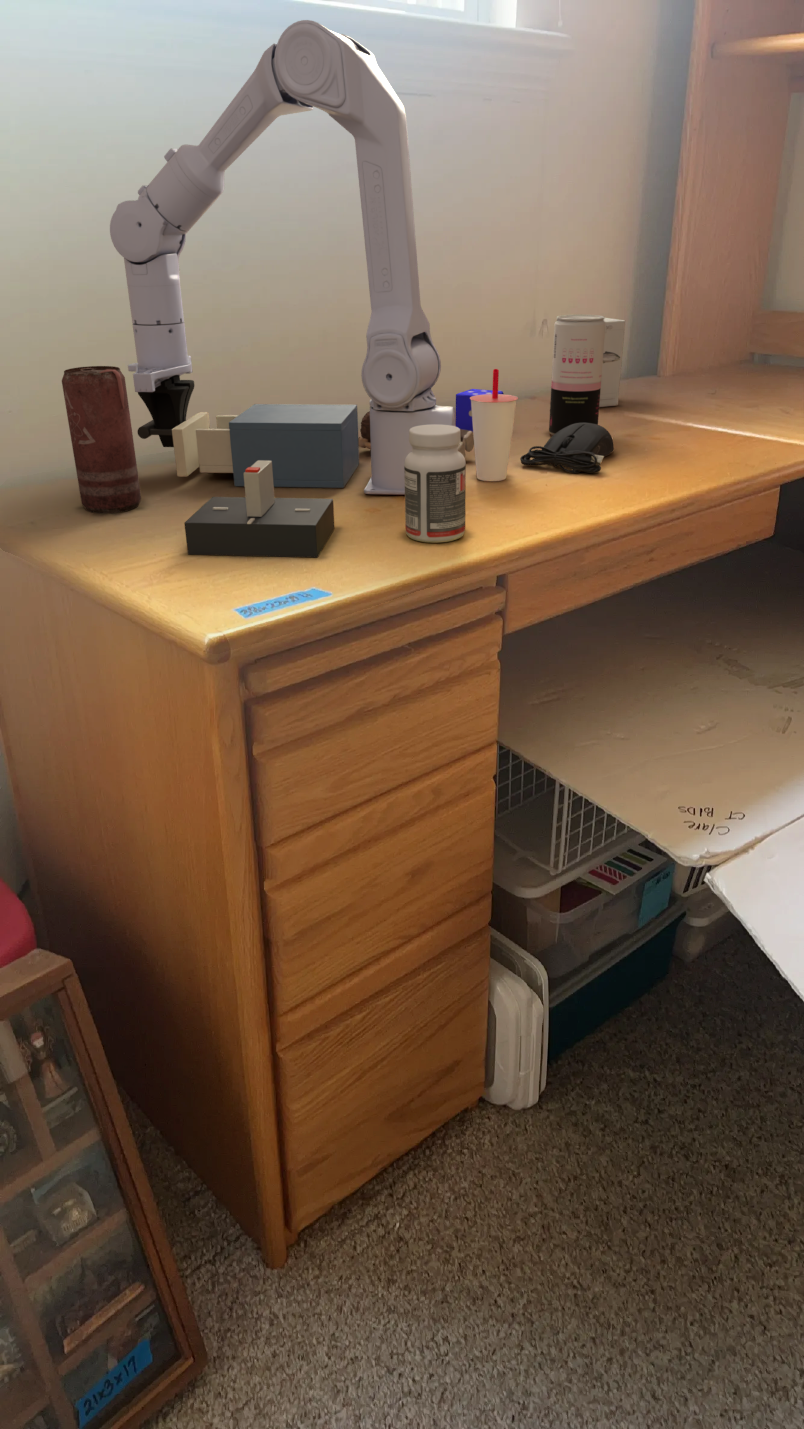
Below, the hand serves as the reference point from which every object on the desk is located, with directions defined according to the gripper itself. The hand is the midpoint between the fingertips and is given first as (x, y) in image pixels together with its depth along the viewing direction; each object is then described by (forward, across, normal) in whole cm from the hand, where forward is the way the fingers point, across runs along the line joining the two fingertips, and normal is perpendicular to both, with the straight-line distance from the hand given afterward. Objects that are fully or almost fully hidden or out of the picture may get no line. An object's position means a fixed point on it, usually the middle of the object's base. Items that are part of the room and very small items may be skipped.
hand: (173, 446), depth 116 cm
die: (+3, -28, +35) cm, 45 cm away
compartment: (+3, 0, +15) cm, 15 cm away
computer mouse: (+3, -10, +48) cm, 49 cm away
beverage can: (+3, -25, +48) cm, 54 cm away
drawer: (+2, 0, +5) cm, 6 cm away
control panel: (+3, +26, +17) cm, 31 cm away
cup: (+3, 0, +38) cm, 38 cm away
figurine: (+3, -12, +28) cm, 31 cm away
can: (+3, +15, -2) cm, 16 cm away
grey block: (0, +26, +17) cm, 31 cm away
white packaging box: (+3, -48, +51) cm, 70 cm away
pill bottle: (+3, +23, +33) cm, 40 cm away
